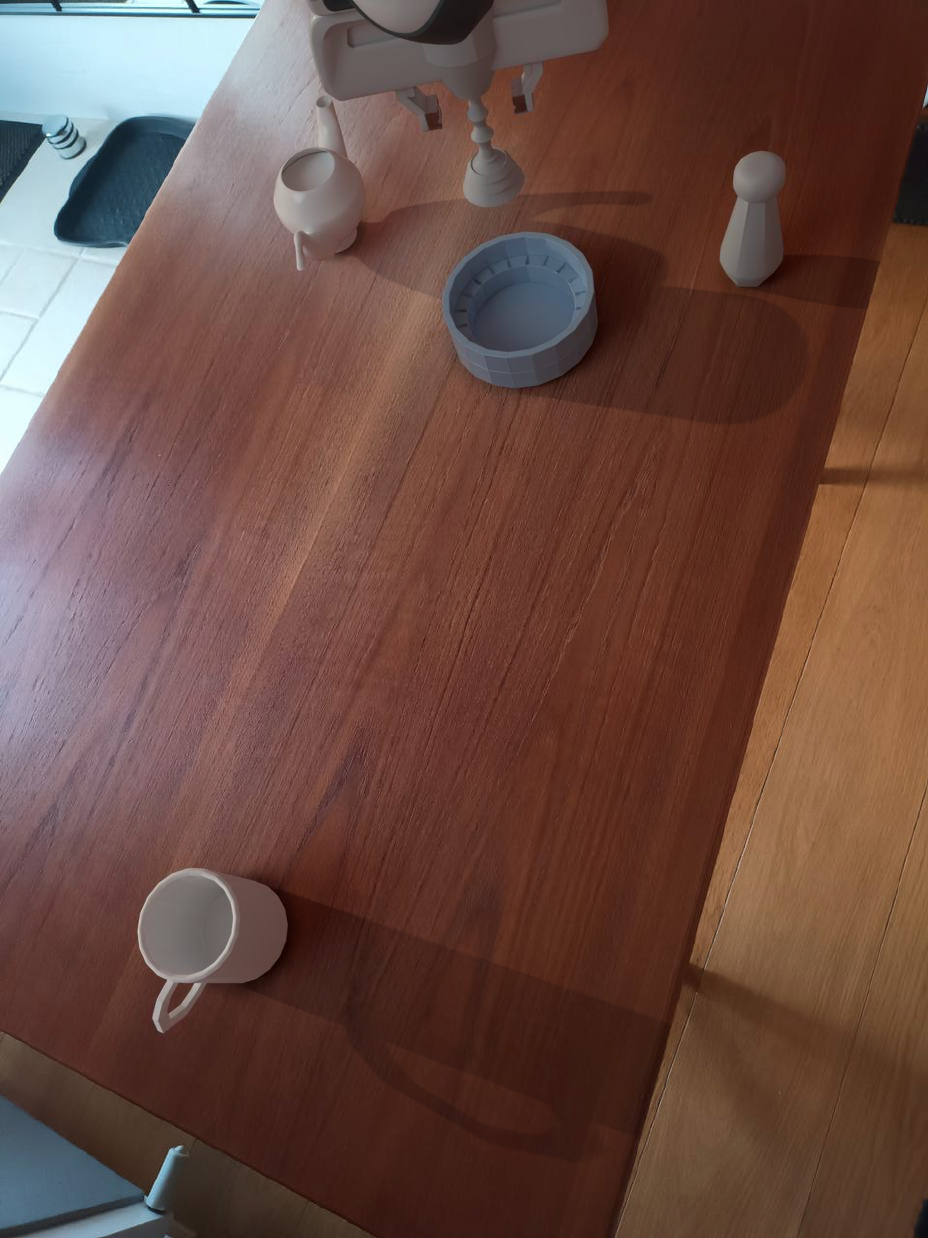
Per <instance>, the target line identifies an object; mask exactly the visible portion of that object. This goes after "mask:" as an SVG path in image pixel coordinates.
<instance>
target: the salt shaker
mask: <svg viewBox="0 0 928 1238" xmlns="http://www.w3.org/2000/svg"><path fill="white" fill-rule="evenodd" d="M786 172H787V171H786V164H785V162H784V160H783V159H782V157H781V156H779V155H777V154H776V153H774V152H772V151H766V150H759V151H754V152H753V151H752V152H750V153H748V154H746V155H744V156H743V157H742V158H740V160H739V161H738V163H737V164H736V165H735V168H734V171H733V179H732V187H733V190H734V192H735V194H736V196H737V198H736V201H735V204H734V207H733V210H732V213H731V215H730V218H729V222H728V225H727V228H726V230H725V233H724V237H723V240H722V242H721V244H720V245H721V246H720V252H719V263H720V265H721V267H722V269H723V270H724V273H725V274H726V275H727V277H728V278H729V279H730V280H731V281H732V282H733V283H734V284H735V285H736V286H737V288H740V287H744V288H746V287H747V288H750V287H751V288H752V287H753V288H754V287H759V286H760V285H761V284H763V283H764V282H765V281H766V280H767V279H769V278H770V276H772V275H773V274H774V273H775V272H776V270H777V269H778V268H779V266H780V265H781V263H782V262H783V259H784V239H783V234H782V226H781V219H780V213H779V206H778V197H777V196H778V195H779V194H780V192H781V190H782V189H783V188H784V186H785V182H786Z"/></svg>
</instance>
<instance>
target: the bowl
mask: <svg viewBox="0 0 928 1238" xmlns="http://www.w3.org/2000/svg"><path fill="white" fill-rule="evenodd" d="M443 290H444V291H443V292H442V295H441V296H442V299H441V300H442V317H443V319H444V322H445V325H446V328H447V331H448V334H449V337H450V341H451V343H452V346H453V348H454V350H455V353H456V355H457V357H458V360H459V362H460V364H461V365H462V366H463V367H464V368H466V370H468V372H469V373H470V374H471V375H472V376H474V377H475V378H477V379H479V380H481V381H484V382H485V383H488V384H489V385H492V386H495V387H496V386H497V387H502V388H511V389H520V388H522V389H523V388H528V387H529V388H530V387H535V386H537V387H538V386H540V385H543V384H545V383H547V382H550V381H552V380H556V379H557V378H560V377H562V376H563V375H564V374H566V373H567V372H569V371H570V370H571V369H573V368H574V367H575V366H576V365H578V364H579V363H580V362H581V361H582V360H583V358H584V356H585V355H586V353H587V352H588V351H589V349H590V348H591V346H592V345H593V343H594V340H595V336H596V333H597V330H598V327H599V319H598V307H597V306H598V305H597V296H596V289H595V280H594V271H593V269H592V267H591V265H590V263H589V262H588V260H587V258H586V256H585V254H584V253H583V252H581V250H579V249H578V248H577V247H576V246H574V245H573V244H572V243H571V242H570V241H569V240H566V239H564V238H561V237H558V236H556V235H553V234H551V233H548V232H539V231H538V232H537V231H527V230H526V231H520V232H514V233H508V234H502V235H499V236H497V237H495V238H492V239H490V240H487V241H485V242H483V243H481V244H479V245H477V246H476V247H475V248H474V249H472V250H471V251H470V252H469V253H467V254H466V255H465V256H463V257H462V259H461V260H460V261H459V262H458V263H457V265H456V266H455V268H454V269H453V271H452V272H451V273H450V274H449V276H448V278H447V281H446V284H445V287H444V289H443Z"/></svg>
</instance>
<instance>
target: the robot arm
mask: <svg viewBox="0 0 928 1238" xmlns="http://www.w3.org/2000/svg"><path fill="white" fill-rule="evenodd" d="M305 3H306V5H307V7H308V10H309V11H308V14H309V15H308V39H309V45H310V50H311V54H312V58H313V63H314V66H315V69H316V73H317V76H318V79H319V82H320V84H321V87H322V89H323V91H324V92H325V93H326V94H327V95H328V96H330V97H331V98H333V99H334V100H336V101H339V102H344V101H350V100H355V99H359V98H365V97H369V96H376V95H379V94H385V93H389V92H394V94H395V96H396V99H397V101H398V102H399V103H400V104H401V105H403V106H404V107H405V108H406V109H407V110H409V111H410V112H411V113H412V114H414V115H415V116H417V117H418V120H419V123H420V127H421V131H422V133H427V132H432V131H437V130H442V129H443V112H442V109H441V106H440V101H439V97H438V94H431V95H426V94H425V93H424V92H423V90H421V89H420V88H419V86H424V85H431V84H434V83H439V82H440V83H441V81H443V80H442V79H441V77H440V76H439V74H438V73H437V72H436V71H435V70H434V69H433V68H432V67H431V66H430V65H429V64H428V62H427V61H426V57H425V53H424V50H423V46H422V43H424V44H434V45H454V44H458V43H460V42H462V41H464V40H465V39H466V38H467V37H468V35H469V34H470V33H471V32H472V31H473V29H474V28H475V27H476V26H477V25H478V23H479V22H480V21H481V20H482V19H483V17H484V16H485V15H486V14H487V12H488V11H489V10H490V9H491V8H492V6H493V12H494V18H493V19H492V24H493V29H494V35H495V41H496V50H495V54H494V57H493V61H492V64H491V71H495V70H496V71H500V70H505V69H509V68H514V67H519V66H522V70H523V72H522V74H521V77H516V78H513V79H510V88H511V91H510V92H511V101H512V105H513V113H514V115H520V114H526V113H533V112H535V99H534V92H535V90H536V88H537V86H538V84H539V82H540V80H541V77H542V76H543V73H544V62H545V61H550V60H555V59H558V58H564V57H570V56H574V55H580V54H584V53H589V52H594V51H597V50H598V49H600V48H601V47H602V45H603V44H604V42H605V41H606V39H607V37H608V36H609V33H610V24H609V13H608V5H607V0H305ZM496 71H495V72H496Z"/></svg>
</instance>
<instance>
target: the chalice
mask: <svg viewBox="0 0 928 1238" xmlns="http://www.w3.org/2000/svg"><path fill="white" fill-rule="evenodd" d="M493 18H494V12H493V6H492V8H491V9H490V10H489V11H488V12H487V14H486V15H485V16H484V17H483V19H482V20H481V21H480V22H479V23H478V25H477V26H476V27H475V28H474V29H473V31H472V32H471V33H470V34H469V35H468V37H467V38H466V39H465V40H464V41H462V42H460V43H458V44H454V45H434V44H424V43H422V46H423V50H424V53H425V57H426V61H427V62H428V64H429V65H430V66H431V67H432V68H433V69H434V70H435V71H436V72H437V73H438V74H439V76H440V77H441V79H442V80H443V81H440V83H442V84H443V85H444V87H446V88H447V90H449V91H450V92H451V94H453V95H454V96H455V98H457V99H460V100H463V101H468V111H467V113H466V118H467V119H468V120H469V121H470V122H471V123H472V125H473V130H472V131H471V133H470V138H471V140H472V142H473V143H477V146H478V148H479V149H478V150H477V151H476V152H475V153H474V154H473V155H472V156H471V158H470V159H469V161H468V163H467V164H466V171H465V173H464V180H463V182H462V192H463V195H464V197H465V199H467V201H468V202H469V203H470V204H472V205H474V206H476V207H481V208H497V207H500V206H503V205H505V204H507V203H509V202H510V201H512V200H513V199H515V198H516V197H517V196H518V194H519V193H521V191H522V188H523V187H524V184H525V174H524V171H523V169H522V168H521V167H520V166H519V164H518V163H517V162H516V161H515V159H514V158H513V157H512V156H511V154H510V152H508V151H507V150H505V149H503V148H501V147H498V146H493V145H492V138H493V137H494V134H495V131H494V128H493V127H492V126H490V125H488V124H487V118H488V115H489V109H488V108H487V107H486V106H485V104H484V103H483V101H482V97H483V96H484V95H485V94H486V93H488V91H489V90H490V88H491V87H492V86H491V85H492V83H493V80H494V77H495V73H496V71H497V70H495V71H491V64H492V61H493V57H494V54H495V50H496V41H495V35H494V29H493V24H492V19H493Z"/></svg>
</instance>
